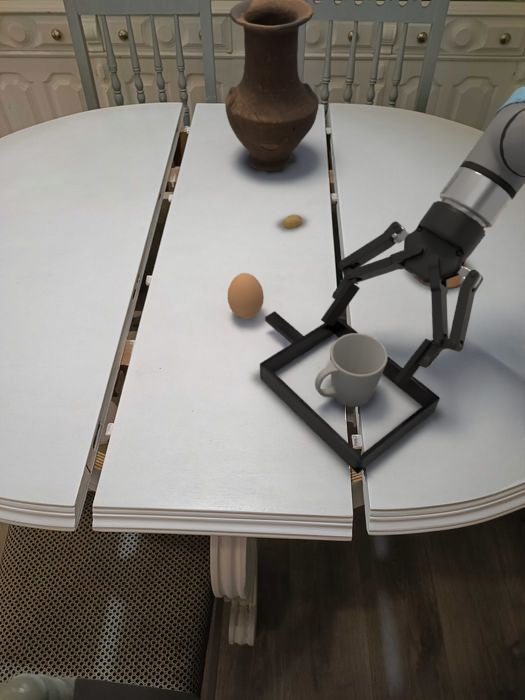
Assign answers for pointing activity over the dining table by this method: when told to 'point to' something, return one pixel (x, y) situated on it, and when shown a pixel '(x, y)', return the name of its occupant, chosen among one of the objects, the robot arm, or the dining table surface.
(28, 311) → the dining table surface
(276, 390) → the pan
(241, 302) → the egg
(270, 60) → the vase
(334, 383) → the cup
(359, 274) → the robot arm
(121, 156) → the dining table surface
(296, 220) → the potato
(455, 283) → the coaster
